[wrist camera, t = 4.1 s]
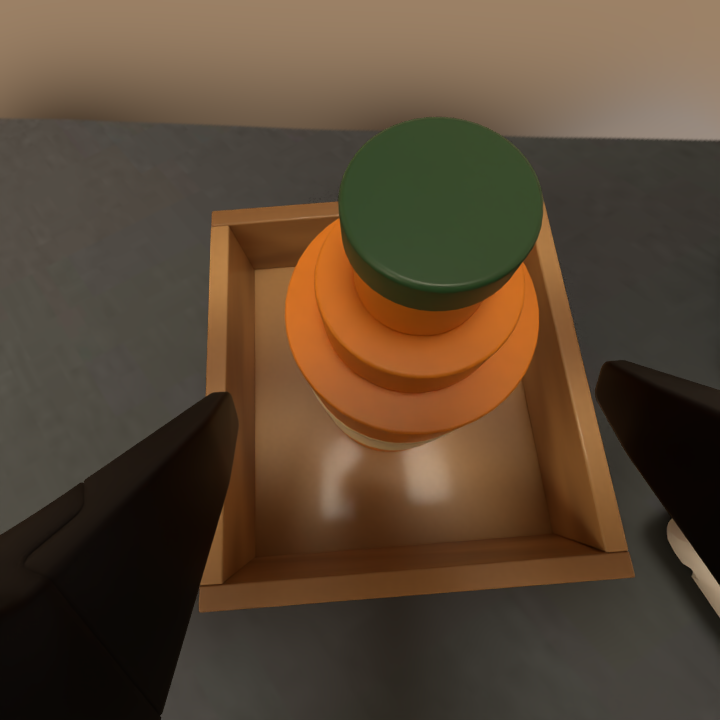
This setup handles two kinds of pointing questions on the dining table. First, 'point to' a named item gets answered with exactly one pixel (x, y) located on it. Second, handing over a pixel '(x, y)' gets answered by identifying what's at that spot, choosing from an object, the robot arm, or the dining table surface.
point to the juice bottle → (420, 284)
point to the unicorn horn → (694, 565)
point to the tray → (393, 456)
